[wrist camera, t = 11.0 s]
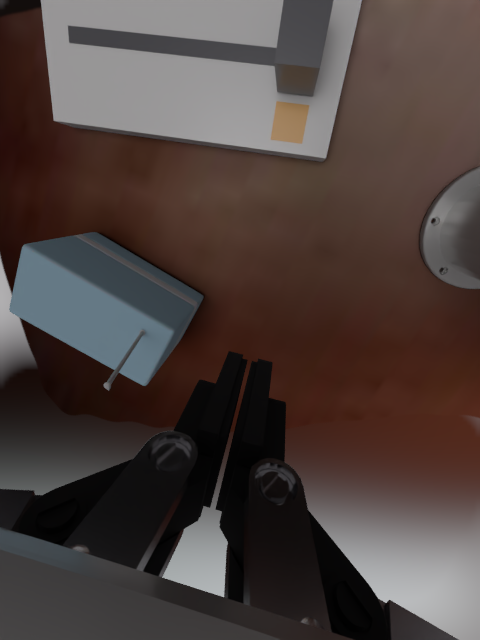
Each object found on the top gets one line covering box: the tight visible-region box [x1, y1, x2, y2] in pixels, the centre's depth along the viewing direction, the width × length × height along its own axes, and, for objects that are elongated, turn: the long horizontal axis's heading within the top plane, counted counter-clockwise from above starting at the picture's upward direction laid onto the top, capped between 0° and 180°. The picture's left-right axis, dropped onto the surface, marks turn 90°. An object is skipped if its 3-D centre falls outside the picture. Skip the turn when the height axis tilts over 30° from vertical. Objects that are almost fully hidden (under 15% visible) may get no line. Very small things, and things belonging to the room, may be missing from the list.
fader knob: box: [274, 0, 334, 96], centre depth 22 cm, size 3×5×6 cm, turn 172°
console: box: [41, 0, 362, 162], centre depth 27 cm, size 28×14×3 cm, turn 82°
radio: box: [10, 232, 204, 391], centre depth 30 cm, size 16×9×20 cm, turn 60°
